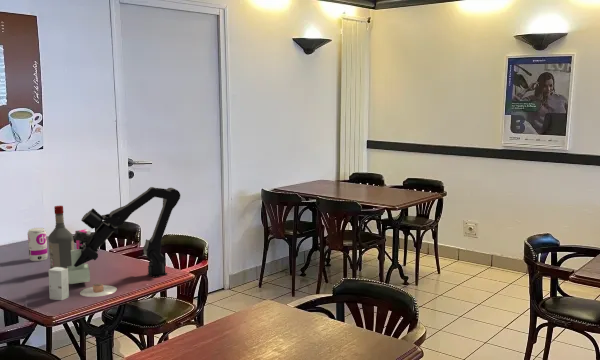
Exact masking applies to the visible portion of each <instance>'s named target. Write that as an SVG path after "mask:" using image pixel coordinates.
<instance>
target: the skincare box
mask: <svg viewBox="0 0 600 360" xmlns="http://www.w3.org/2000/svg"><path fill="white" fill-rule="evenodd" d="M68 282H69V281H68V268H62V267H54V268H52V269H51V268H50V269H48V290H49V291H48V292H49V299H50V300H56V301H63V300H66V299H67V298H70V291H69V287H70V286H69V285H70V284H69V283H68Z"/></svg>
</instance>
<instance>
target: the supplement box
mask: <svg viewBox="0 0 600 360" xmlns="http://www.w3.org/2000/svg"><path fill="white" fill-rule="evenodd" d="M76 231H80V232H83V233H86V234H89V235H90V234H91V233H92V232H91V230H90V229H87V228H86V229H85V228H84V229H79V230H75V231H74V234H75V233H76ZM79 242H80V241H79V240H78V241H77V240H75V243H76V250H77V249H79V245H82V244H80V243H79Z"/></svg>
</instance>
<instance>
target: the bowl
mask: <svg viewBox="0 0 600 360" xmlns="http://www.w3.org/2000/svg"><path fill="white" fill-rule="evenodd" d="M103 286H104V283H102V282H101V283H95V284H92V287H93V292H95V293H98V292H103V291H104V287H103Z"/></svg>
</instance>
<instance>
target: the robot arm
mask: <svg viewBox="0 0 600 360" xmlns="http://www.w3.org/2000/svg"><path fill="white" fill-rule="evenodd" d="M153 198H159V199H162V208H161V211H160V213H159V216H158V219H157V222H156V224H155V228H154V229H153V232H152V235H151V237H150V238H149V239H145V241H144V245H143V247H142V248H143V254H144V255H145V257H146V258H147V259H149V260H150V261H148V266H147V269H148V273H147V276H149V277H150V276H151V277H152V278H159V277H163V276H167V275H168V272H166V257H165V256H164V255H163V253H161V252H162V251H161V250H162V239H163V236H164V233H165V231H166V227H167V226H168V223H169V220H170V216H171V214H172V212H173V210H174V209H175V207H176V206H177V204H178V203H179V201H180V199H181V193H180V191H179V190H178V189H176V188H174V187H168V188H162V187H154V186H150V187H149V188H148V189H147V190H145V191H144V192H142V193H141V194H140V195H138V196H136V197H135V198H134V199H132V200H131V201H129V202H128V203H127V204H125V205H123V206H121V207H117V208H116V209H114V210H112V211H110V212H109V213H106V214H102V215H101V214H100V213H99V212H98V211H97V210H96V209H94V208H91V210H89V211H87V212H86V213H85V214H84V215H83V216H82V218H81V219H80V221H81V222H82V223H84V224H85V225H86V226H87V227H89V228H90V229H91V230H92V229H95V231H93V232H91V234H90V235H89V234H86V233H83V232H80V231H78V230H75V231H76V233H75V232H74V236H73V240H74V241H76V240H77V241H78V240H79V241H80V242H79V243H80V244H82V245H79V249H81V255H80V257H79V258H78V260H77V261H76V263H75V264H74V266H75V267H77V266H79V265H81V264H83V263H84V264H87V263H88V262H90V261H96V260H97V259H98V258H99V253H98V252H99V249H100V248H101V246H102V245H103V246H104V245H105V241H107V240H108V238H110V237H111V235H112V234H113V233H114V234H116V235H119V228H118V227H119V226H122V224H124V223H125V222H126V221H127V220H128V219H129V217H131V215H132V214H133V213H134V212H136V211H137V210H138V209H141V207H142V206H144V205H145V204H147V203H148V202H150V201H151V200H152V199H153Z"/></svg>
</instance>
